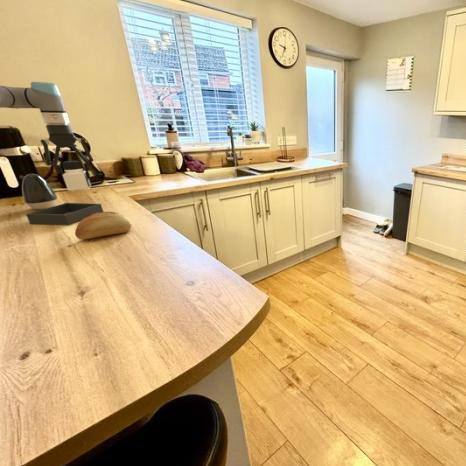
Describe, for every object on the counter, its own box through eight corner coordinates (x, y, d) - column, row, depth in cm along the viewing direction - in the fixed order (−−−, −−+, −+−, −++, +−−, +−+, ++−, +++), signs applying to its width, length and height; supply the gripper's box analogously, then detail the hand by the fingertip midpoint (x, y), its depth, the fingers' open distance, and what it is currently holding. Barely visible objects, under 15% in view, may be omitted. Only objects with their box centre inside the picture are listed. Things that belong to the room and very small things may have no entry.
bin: (30, 224, 110) (25, 214, 108) (69, 211, 124) (66, 202, 123) (68, 225, 109) (64, 215, 107) (103, 212, 123) (100, 203, 122)
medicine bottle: (89, 189, 128) (80, 161, 123) (68, 191, 124) (57, 162, 120) (91, 186, 133) (82, 159, 129) (71, 188, 130) (61, 160, 125)
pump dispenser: (44, 204, 134) (31, 171, 128) (66, 205, 133) (54, 172, 128) (20, 211, 124) (5, 175, 119) (43, 211, 124) (29, 176, 118)
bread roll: (75, 237, 98) (67, 215, 95) (128, 226, 108) (122, 206, 105) (79, 245, 92) (71, 222, 89) (135, 233, 102) (129, 211, 99)
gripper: (20, 124, 110) (44, 183, 118) (90, 124, 122) (107, 177, 131) (23, 124, 115) (45, 181, 123) (89, 124, 128) (105, 175, 136)
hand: (77, 179), depth 127 cm, fingers closed on medicine bottle, 8 cm apart
